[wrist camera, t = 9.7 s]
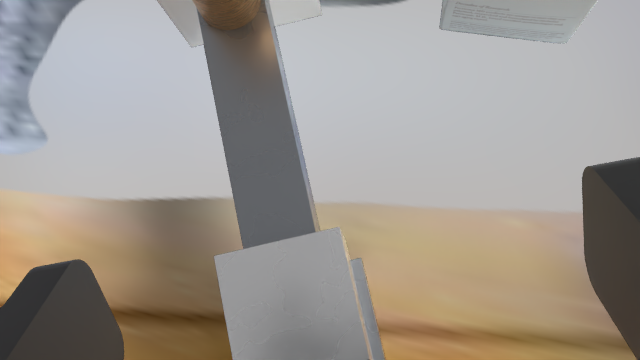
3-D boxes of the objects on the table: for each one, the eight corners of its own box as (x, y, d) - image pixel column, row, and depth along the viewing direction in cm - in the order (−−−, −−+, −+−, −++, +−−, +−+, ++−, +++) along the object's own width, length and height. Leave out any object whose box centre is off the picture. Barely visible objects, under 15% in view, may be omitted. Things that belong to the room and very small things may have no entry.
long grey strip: (252, -76, 31) (185, -278, 20) (340, 321, 27) (316, 337, 16) (194, -62, 31) (98, -254, 20) (274, 336, 27) (205, 362, 16)
